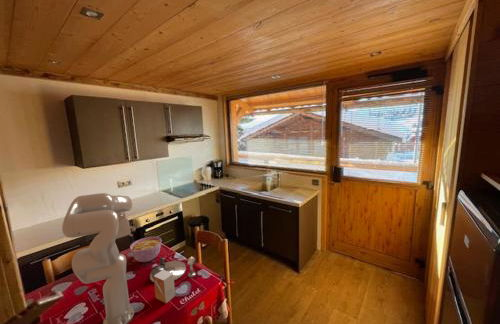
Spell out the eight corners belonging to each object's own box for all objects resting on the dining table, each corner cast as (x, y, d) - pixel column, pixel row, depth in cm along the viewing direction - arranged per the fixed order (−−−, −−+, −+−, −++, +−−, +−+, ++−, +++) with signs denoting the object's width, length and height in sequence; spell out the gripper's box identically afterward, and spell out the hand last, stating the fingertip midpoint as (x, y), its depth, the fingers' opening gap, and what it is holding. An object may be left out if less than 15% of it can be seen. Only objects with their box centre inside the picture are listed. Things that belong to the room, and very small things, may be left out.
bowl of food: (168, 255, 155) (167, 240, 153) (142, 270, 138) (140, 253, 136) (152, 248, 165) (150, 234, 164) (125, 262, 148) (123, 246, 147)
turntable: (192, 271, 134) (191, 262, 134) (158, 289, 120) (157, 279, 119) (176, 258, 149) (175, 250, 148) (144, 273, 135) (143, 264, 134)
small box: (155, 298, 113) (153, 275, 112) (165, 290, 119) (163, 269, 117) (165, 304, 109) (163, 280, 108) (175, 295, 115) (173, 273, 113)
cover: (166, 275, 130) (165, 267, 129) (154, 280, 125) (154, 272, 125) (161, 270, 135) (161, 262, 134) (150, 275, 130) (149, 268, 130)
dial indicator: (197, 274, 131) (195, 256, 130) (190, 278, 128) (188, 260, 127) (193, 271, 135) (191, 254, 133) (186, 275, 132) (185, 257, 130)
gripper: (101, 223, 114) (105, 254, 116) (136, 214, 127) (139, 241, 129) (98, 220, 119) (102, 249, 121) (131, 211, 132) (134, 238, 134)
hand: (121, 245), depth 125 cm, fingers open, 9 cm apart
